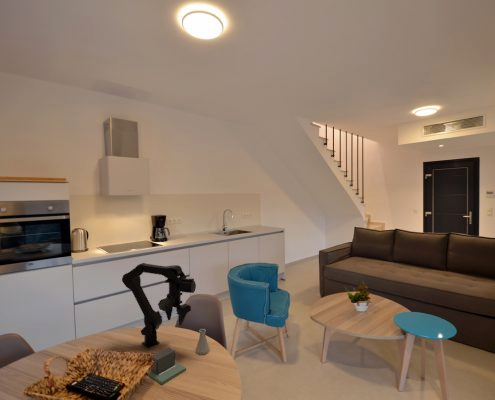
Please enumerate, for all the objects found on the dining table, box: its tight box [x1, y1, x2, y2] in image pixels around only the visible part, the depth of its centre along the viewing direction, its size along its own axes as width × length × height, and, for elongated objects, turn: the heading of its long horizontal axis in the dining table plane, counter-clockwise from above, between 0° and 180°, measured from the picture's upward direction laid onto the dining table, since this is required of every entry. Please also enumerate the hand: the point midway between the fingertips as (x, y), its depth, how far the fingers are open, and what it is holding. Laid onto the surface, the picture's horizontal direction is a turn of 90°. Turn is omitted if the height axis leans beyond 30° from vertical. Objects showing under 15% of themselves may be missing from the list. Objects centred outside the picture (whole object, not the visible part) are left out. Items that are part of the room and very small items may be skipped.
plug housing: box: [150, 347, 176, 374], centre depth 118 cm, size 4×9×6 cm, turn 141°
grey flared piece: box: [194, 328, 211, 355], centre depth 134 cm, size 7×7×10 cm
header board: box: [147, 361, 187, 385], centre depth 118 cm, size 16×12×6 cm
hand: (174, 322), depth 138 cm, fingers open, 9 cm apart
